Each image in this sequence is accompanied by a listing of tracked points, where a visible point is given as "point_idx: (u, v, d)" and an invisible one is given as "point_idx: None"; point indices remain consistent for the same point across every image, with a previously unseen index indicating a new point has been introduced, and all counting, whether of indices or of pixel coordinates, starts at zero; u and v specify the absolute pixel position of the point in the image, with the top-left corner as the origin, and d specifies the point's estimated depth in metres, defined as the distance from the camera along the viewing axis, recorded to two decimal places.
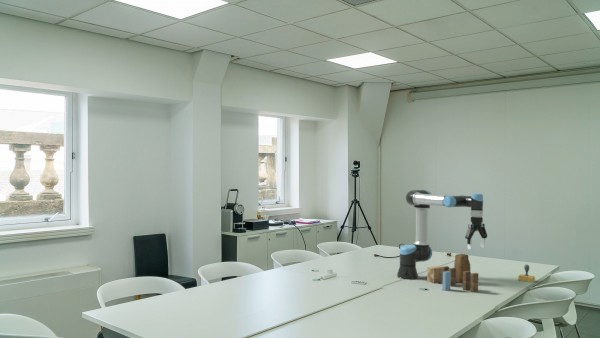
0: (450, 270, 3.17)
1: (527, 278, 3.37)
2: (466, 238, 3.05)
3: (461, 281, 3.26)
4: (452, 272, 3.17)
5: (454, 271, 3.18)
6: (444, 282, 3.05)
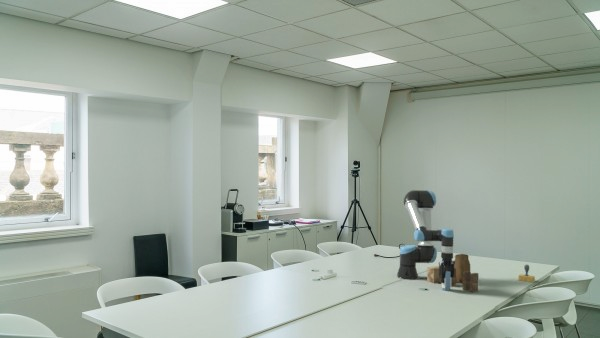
0: None
1: (527, 278, 3.37)
2: None
3: (461, 281, 3.26)
4: None
5: (454, 271, 3.18)
6: None
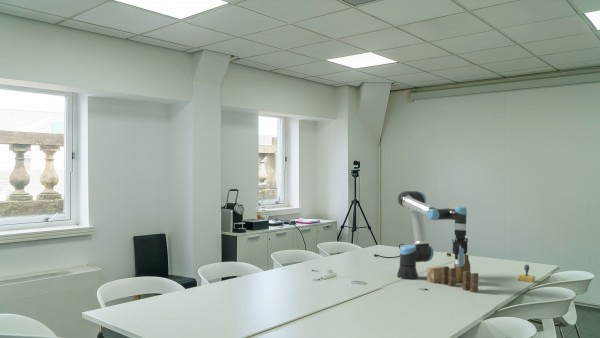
0: (450, 270, 3.17)
1: (527, 278, 3.37)
2: (454, 253, 3.13)
3: (461, 281, 3.26)
4: (452, 272, 3.17)
5: (454, 271, 3.18)
6: None
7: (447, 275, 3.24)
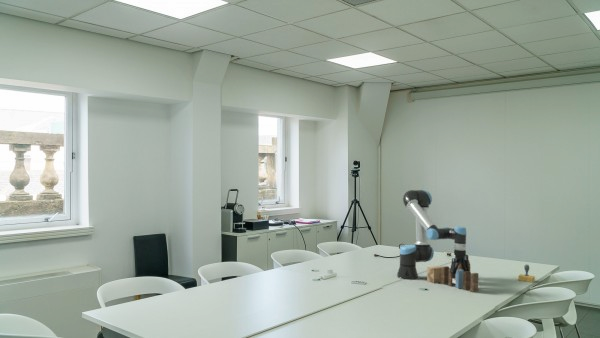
0: None
1: (527, 278, 3.37)
2: (451, 272, 3.12)
3: None
4: None
5: None
6: (457, 280, 3.12)
7: (447, 275, 3.24)
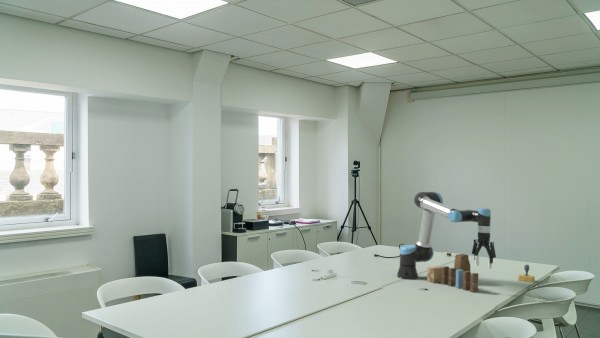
0: (450, 270, 3.17)
1: (527, 278, 3.37)
2: None
3: None
4: (452, 272, 3.17)
5: (454, 271, 3.18)
6: (457, 280, 3.12)
7: (447, 275, 3.24)
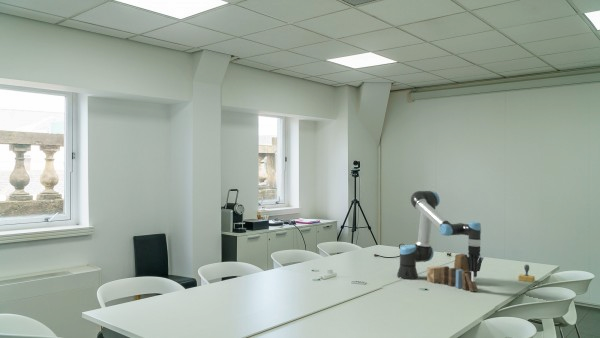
0: (450, 270, 3.17)
1: (527, 278, 3.37)
2: None
3: None
4: (452, 272, 3.17)
5: (454, 271, 3.18)
6: (457, 280, 3.12)
7: (447, 275, 3.24)
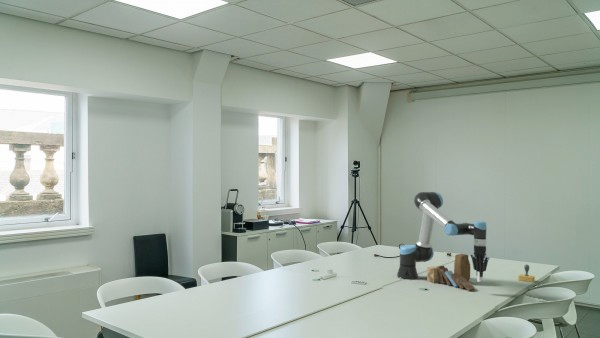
0: (442, 270, 3.23)
1: (527, 278, 3.37)
2: None
3: None
4: (444, 271, 3.23)
5: (446, 270, 3.24)
6: (451, 279, 3.17)
7: None
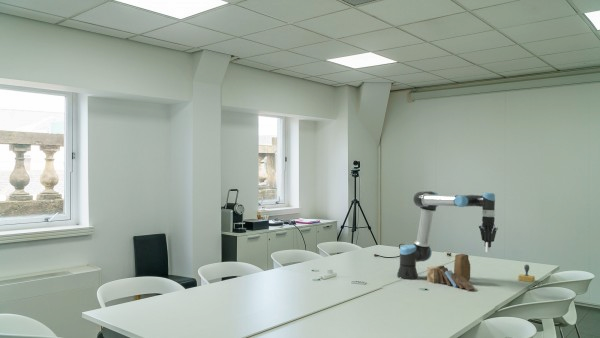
0: (442, 270, 3.23)
1: (527, 278, 3.37)
2: None
3: None
4: (444, 271, 3.23)
5: (446, 270, 3.24)
6: (451, 279, 3.17)
7: None
